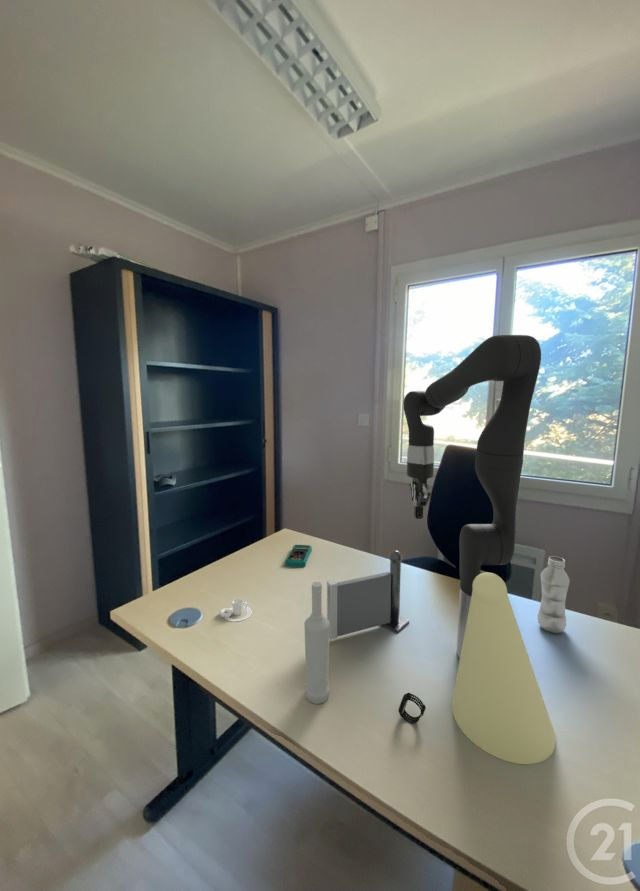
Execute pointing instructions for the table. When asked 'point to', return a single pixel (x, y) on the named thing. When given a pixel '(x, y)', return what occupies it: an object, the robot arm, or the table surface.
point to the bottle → (317, 650)
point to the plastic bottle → (553, 596)
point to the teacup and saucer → (235, 610)
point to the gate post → (395, 593)
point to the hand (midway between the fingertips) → (418, 517)
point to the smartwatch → (403, 705)
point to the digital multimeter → (298, 556)
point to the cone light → (499, 681)
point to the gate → (358, 604)
